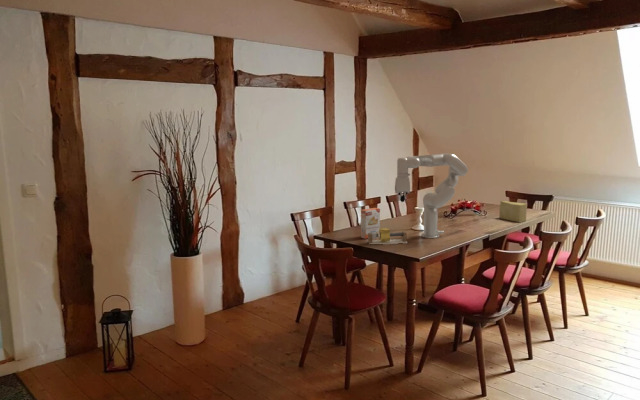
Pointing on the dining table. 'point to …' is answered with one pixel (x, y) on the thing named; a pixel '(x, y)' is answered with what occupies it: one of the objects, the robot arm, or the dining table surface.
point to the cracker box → (370, 221)
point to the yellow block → (384, 234)
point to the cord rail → (396, 241)
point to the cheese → (513, 211)
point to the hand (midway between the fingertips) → (402, 201)
